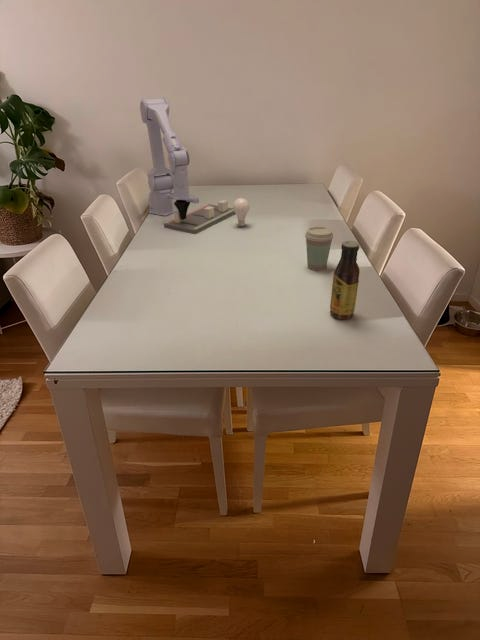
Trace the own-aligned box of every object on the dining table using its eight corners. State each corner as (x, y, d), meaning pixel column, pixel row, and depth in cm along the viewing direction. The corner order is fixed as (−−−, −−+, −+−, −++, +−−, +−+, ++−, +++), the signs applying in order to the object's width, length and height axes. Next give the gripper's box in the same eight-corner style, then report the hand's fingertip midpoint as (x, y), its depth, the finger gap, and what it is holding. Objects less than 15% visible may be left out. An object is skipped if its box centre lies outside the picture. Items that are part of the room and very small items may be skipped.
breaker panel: (164, 227, 181) (164, 223, 180) (208, 207, 203) (208, 203, 202) (195, 234, 174) (195, 230, 174) (237, 212, 196) (237, 208, 195)
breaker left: (218, 211, 193) (218, 202, 191) (223, 208, 195) (222, 200, 193) (223, 212, 192) (222, 202, 190) (227, 209, 194) (227, 200, 192)
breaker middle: (204, 217, 185) (203, 208, 184) (209, 215, 188) (209, 206, 186) (209, 218, 184) (208, 209, 182) (214, 216, 187) (213, 207, 185)
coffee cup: (332, 263, 149) (335, 227, 143) (327, 274, 142) (331, 236, 136) (306, 260, 152) (308, 224, 146) (300, 270, 145) (302, 233, 139)
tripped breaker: (174, 222, 182) (173, 212, 180) (179, 219, 184) (179, 210, 182) (179, 223, 180) (178, 213, 179) (184, 220, 183) (183, 211, 181)
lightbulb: (250, 223, 184) (250, 196, 178) (248, 229, 178) (248, 200, 173) (234, 223, 184) (233, 195, 179) (232, 229, 179) (231, 200, 173)
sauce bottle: (326, 309, 123) (333, 238, 113) (349, 308, 123) (358, 237, 113) (333, 322, 117) (340, 248, 107) (357, 320, 118) (367, 247, 108)
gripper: (158, 183, 174) (162, 219, 181) (189, 188, 168) (192, 225, 174) (170, 179, 179) (173, 214, 186) (201, 184, 173) (203, 219, 180)
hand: (183, 219), depth 181 cm, fingers closed
